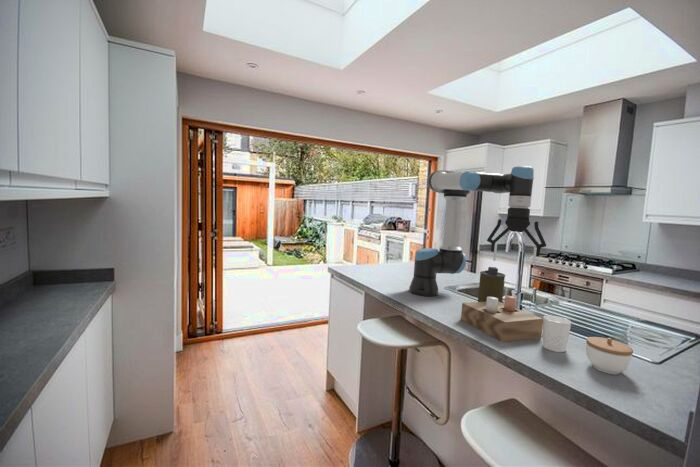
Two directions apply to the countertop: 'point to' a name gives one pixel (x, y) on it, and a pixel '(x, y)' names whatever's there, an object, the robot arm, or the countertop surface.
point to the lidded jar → (608, 354)
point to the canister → (491, 284)
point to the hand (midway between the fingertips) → (513, 262)
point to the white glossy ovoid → (491, 305)
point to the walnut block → (502, 322)
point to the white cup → (555, 333)
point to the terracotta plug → (510, 303)
